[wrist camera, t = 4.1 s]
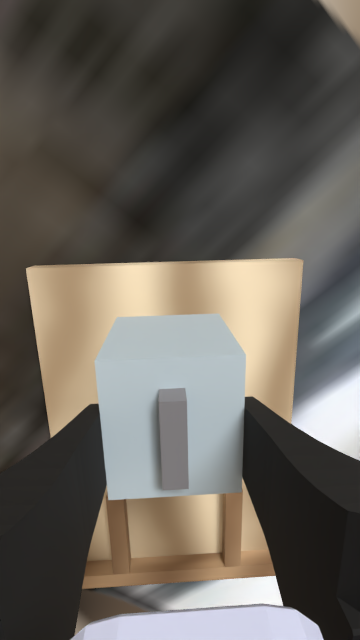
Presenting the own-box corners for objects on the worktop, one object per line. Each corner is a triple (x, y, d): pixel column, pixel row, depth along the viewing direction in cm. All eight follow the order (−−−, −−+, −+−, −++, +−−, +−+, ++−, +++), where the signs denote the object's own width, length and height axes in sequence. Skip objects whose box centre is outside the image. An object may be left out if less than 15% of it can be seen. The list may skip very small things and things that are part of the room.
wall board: (294, 258, 18) (311, 262, 16) (275, 543, 24) (286, 574, 21) (35, 265, 18) (17, 271, 16) (75, 556, 23) (66, 589, 21)
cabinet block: (218, 313, 15) (253, 365, 9) (218, 413, 16) (247, 511, 11) (117, 317, 15) (88, 372, 9) (124, 417, 16) (104, 520, 10)
